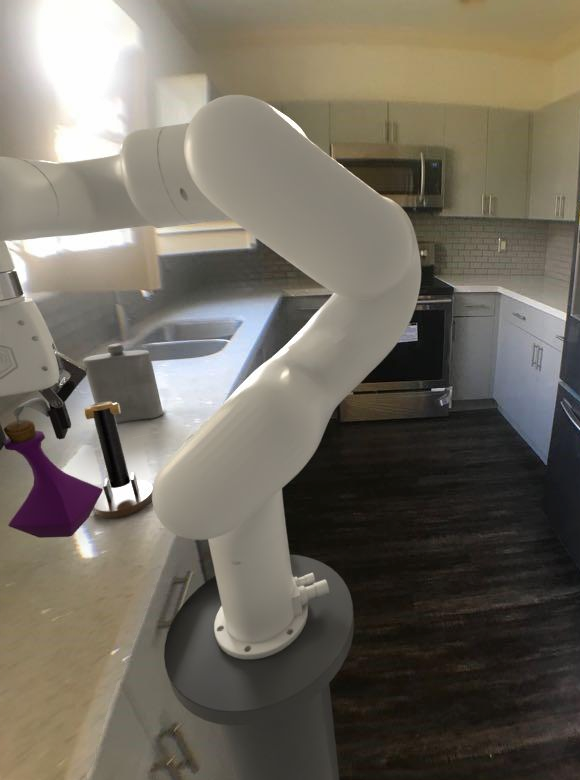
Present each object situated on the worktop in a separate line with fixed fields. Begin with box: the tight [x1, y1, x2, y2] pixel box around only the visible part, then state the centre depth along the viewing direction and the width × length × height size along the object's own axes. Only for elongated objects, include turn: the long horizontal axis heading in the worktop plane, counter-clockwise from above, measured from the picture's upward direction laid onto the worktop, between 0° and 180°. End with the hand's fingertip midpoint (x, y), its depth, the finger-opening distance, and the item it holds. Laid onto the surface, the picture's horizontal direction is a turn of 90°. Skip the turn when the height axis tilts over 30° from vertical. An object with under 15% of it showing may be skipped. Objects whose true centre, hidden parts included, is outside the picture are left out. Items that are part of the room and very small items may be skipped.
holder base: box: [93, 471, 153, 519], centre depth 85 cm, size 10×10×5 cm
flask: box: [82, 343, 164, 424], centre depth 118 cm, size 15×6×20 cm, turn 110°
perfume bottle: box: [3, 397, 103, 539], centre depth 57 cm, size 8×8×18 cm
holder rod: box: [84, 402, 131, 488], centre depth 83 cm, size 16×5×3 cm
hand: (31, 439), depth 55 cm, fingers closed on perfume bottle, 5 cm apart
